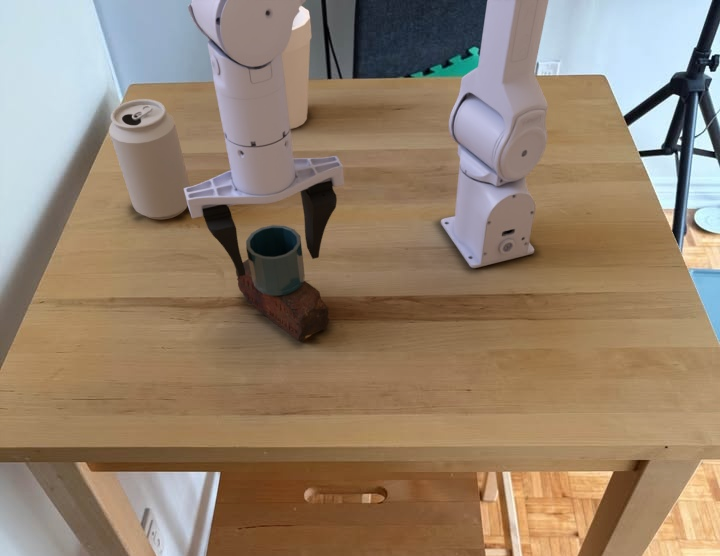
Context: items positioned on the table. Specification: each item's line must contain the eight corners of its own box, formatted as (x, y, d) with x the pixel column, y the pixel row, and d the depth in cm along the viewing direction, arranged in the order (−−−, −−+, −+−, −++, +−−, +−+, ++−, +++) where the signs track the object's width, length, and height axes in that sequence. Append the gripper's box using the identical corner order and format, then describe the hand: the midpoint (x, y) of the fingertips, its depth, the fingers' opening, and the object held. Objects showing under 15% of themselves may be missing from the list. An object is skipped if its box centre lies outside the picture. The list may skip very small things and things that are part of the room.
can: (123, 204, 90) (92, 110, 81) (174, 181, 93) (149, 87, 83) (153, 231, 87) (124, 135, 77) (205, 206, 90) (183, 111, 80)
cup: (311, 288, 73) (307, 251, 69) (259, 301, 72) (252, 264, 68) (297, 257, 76) (292, 220, 72) (247, 269, 75) (240, 232, 71)
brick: (240, 300, 79) (232, 265, 75) (267, 283, 81) (261, 248, 77) (303, 347, 75) (299, 313, 71) (331, 328, 76) (328, 293, 72)
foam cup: (322, 102, 104) (314, 2, 93) (313, 136, 99) (304, 34, 88) (258, 101, 105) (244, 1, 94) (246, 134, 99) (229, 33, 89)
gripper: (324, 91, 64) (333, 223, 75) (165, 123, 62) (198, 253, 73) (348, 130, 60) (354, 262, 71) (179, 165, 58) (212, 296, 69)
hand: (276, 261), depth 72 cm, fingers open, 7 cm apart
